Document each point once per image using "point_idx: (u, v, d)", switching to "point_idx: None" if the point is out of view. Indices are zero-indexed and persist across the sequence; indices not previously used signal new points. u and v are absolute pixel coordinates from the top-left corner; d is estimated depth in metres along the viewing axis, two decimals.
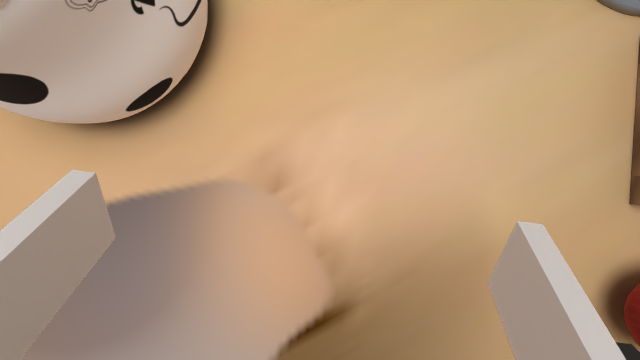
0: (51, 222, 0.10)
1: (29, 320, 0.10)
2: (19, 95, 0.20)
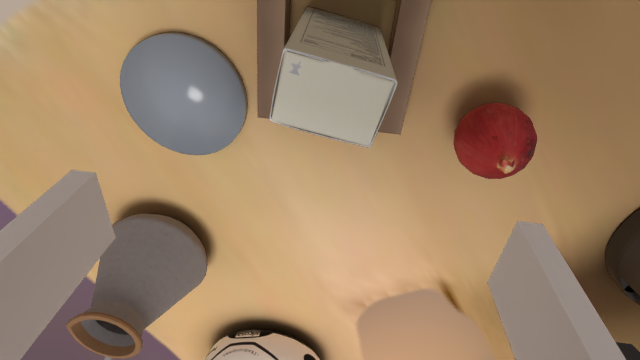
0: (51, 222, 0.10)
1: (29, 320, 0.10)
2: None
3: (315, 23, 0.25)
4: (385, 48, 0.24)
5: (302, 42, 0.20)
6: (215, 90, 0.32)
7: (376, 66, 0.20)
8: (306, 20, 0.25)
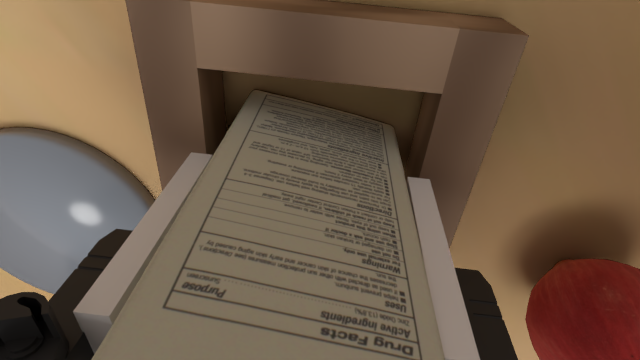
0: None
1: None
2: None
3: (252, 158, 0.11)
4: (411, 221, 0.10)
5: (169, 306, 0.07)
6: (107, 220, 0.19)
7: None
8: (232, 150, 0.11)
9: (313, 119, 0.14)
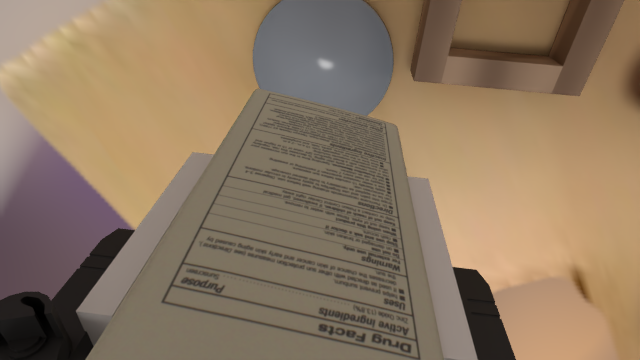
0: None
1: None
2: None
3: (253, 155, 0.11)
4: (412, 219, 0.10)
5: (168, 301, 0.07)
6: (362, 53, 0.29)
7: None
8: (234, 148, 0.11)
9: (316, 118, 0.14)
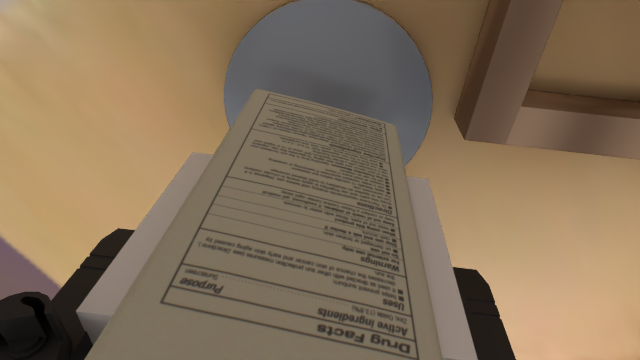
0: None
1: None
2: None
3: (253, 156, 0.11)
4: (411, 219, 0.10)
5: (166, 302, 0.07)
6: (386, 95, 0.19)
7: None
8: (233, 148, 0.11)
9: (315, 118, 0.14)
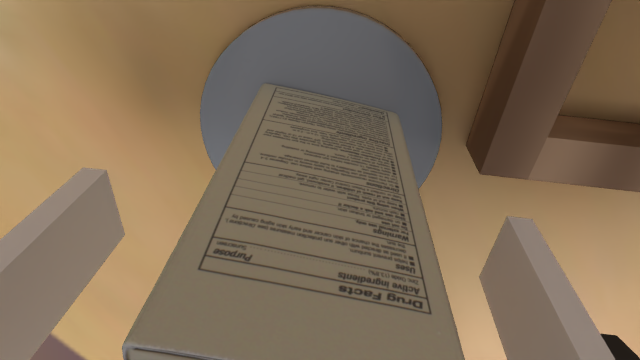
0: (64, 218, 0.10)
1: (43, 315, 0.10)
2: None
3: (267, 143, 0.12)
4: (417, 196, 0.11)
5: (203, 268, 0.07)
6: None
7: (409, 331, 0.07)
8: (248, 137, 0.12)
9: (321, 108, 0.15)
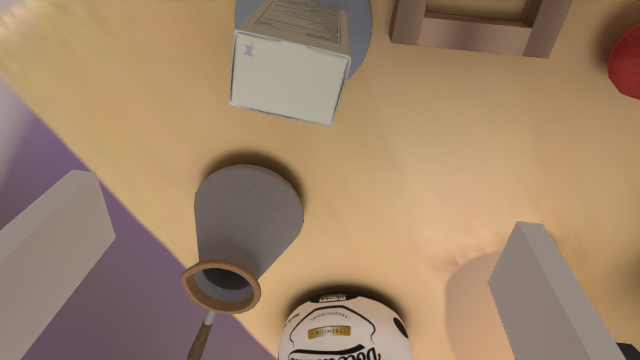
0: (51, 222, 0.10)
1: (29, 320, 0.10)
2: None
3: (276, 7, 0.25)
4: (346, 28, 0.24)
5: (256, 24, 0.20)
6: None
7: (331, 44, 0.20)
8: (267, 4, 0.25)
9: (303, 2, 0.28)
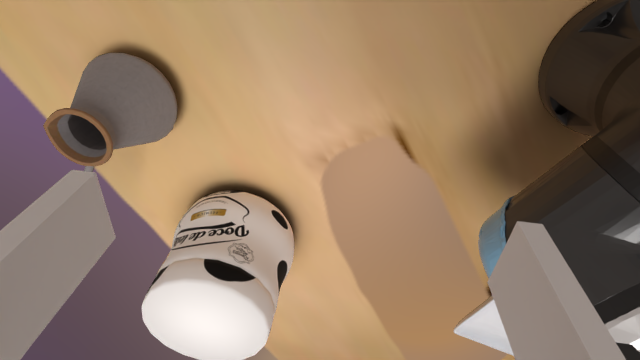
0: (51, 222, 0.10)
1: (29, 320, 0.10)
2: (284, 268, 0.51)
3: None
4: None
5: None
6: None
7: None
8: None
9: None
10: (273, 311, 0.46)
